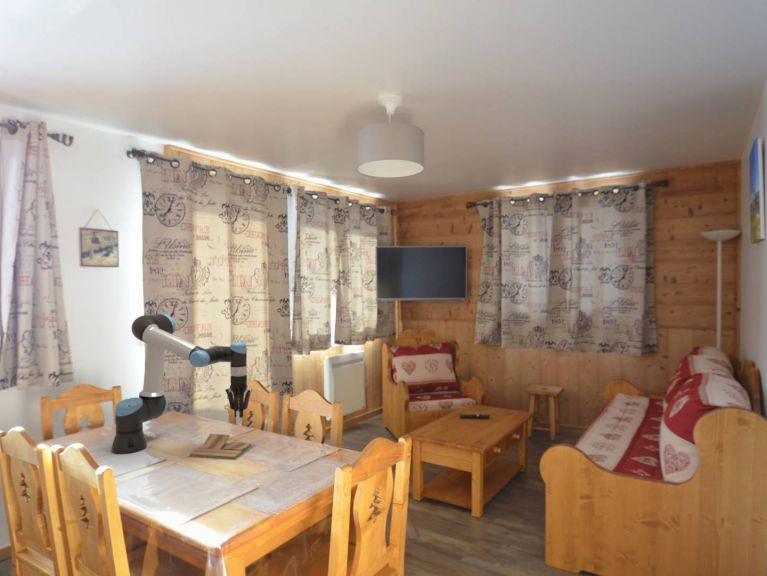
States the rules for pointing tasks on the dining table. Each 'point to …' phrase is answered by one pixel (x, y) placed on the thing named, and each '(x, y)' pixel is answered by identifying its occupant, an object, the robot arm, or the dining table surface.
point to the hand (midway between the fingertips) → (239, 423)
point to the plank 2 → (237, 446)
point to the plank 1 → (216, 441)
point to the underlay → (219, 453)
